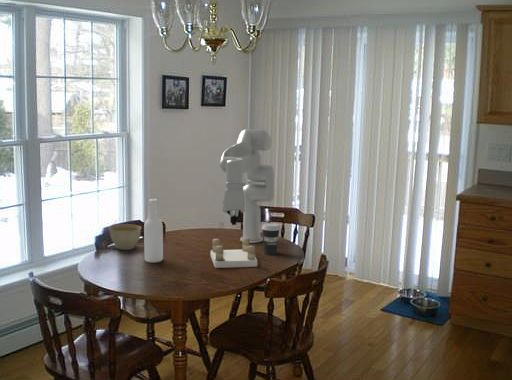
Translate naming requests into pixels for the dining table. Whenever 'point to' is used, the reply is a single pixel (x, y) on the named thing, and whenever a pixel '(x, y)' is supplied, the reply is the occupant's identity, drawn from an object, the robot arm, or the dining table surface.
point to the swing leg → (219, 252)
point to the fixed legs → (245, 247)
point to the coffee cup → (270, 238)
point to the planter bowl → (125, 236)
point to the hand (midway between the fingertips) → (233, 224)
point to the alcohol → (153, 235)
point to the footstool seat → (233, 259)
